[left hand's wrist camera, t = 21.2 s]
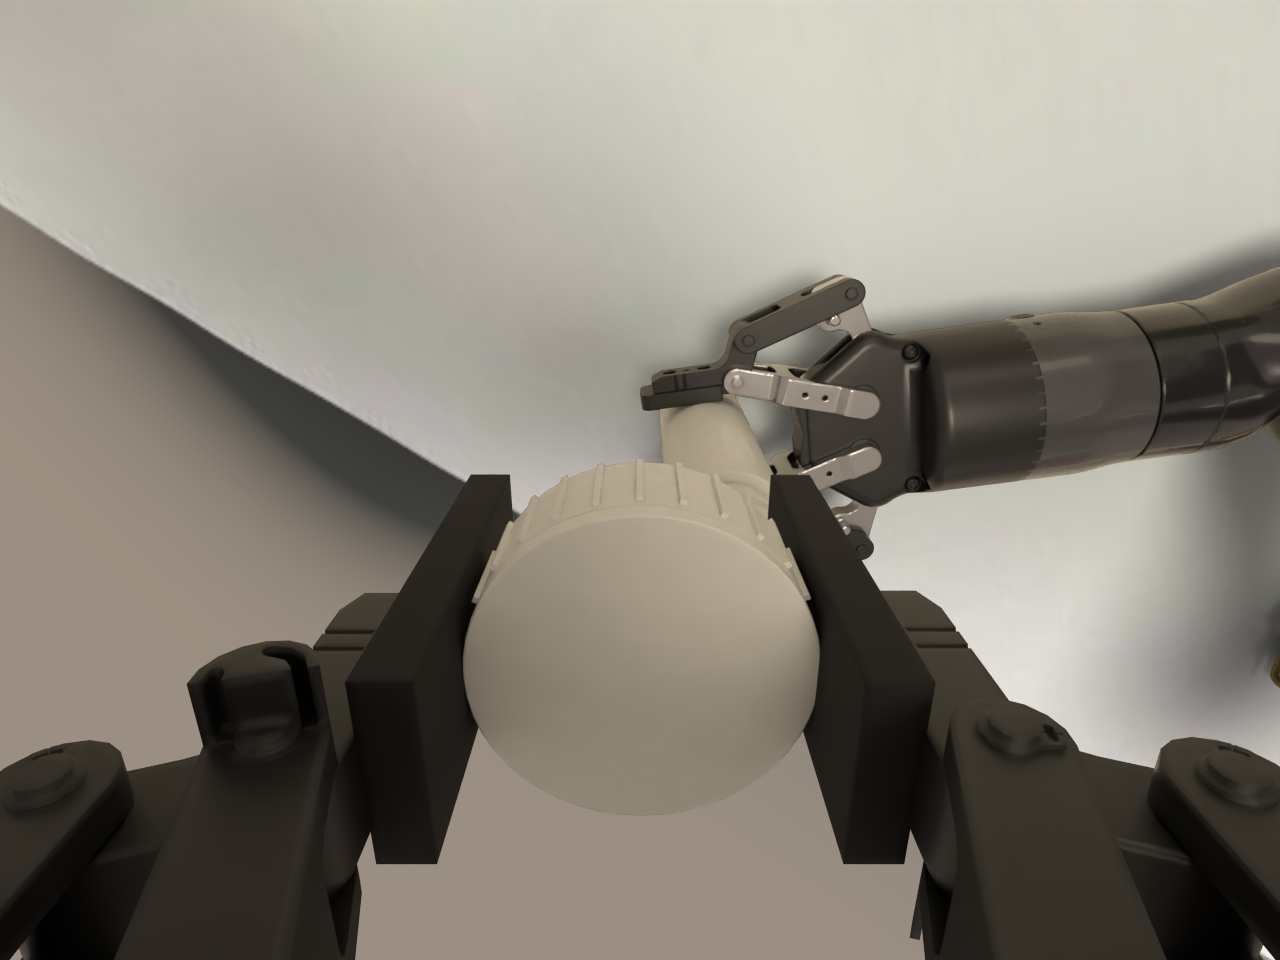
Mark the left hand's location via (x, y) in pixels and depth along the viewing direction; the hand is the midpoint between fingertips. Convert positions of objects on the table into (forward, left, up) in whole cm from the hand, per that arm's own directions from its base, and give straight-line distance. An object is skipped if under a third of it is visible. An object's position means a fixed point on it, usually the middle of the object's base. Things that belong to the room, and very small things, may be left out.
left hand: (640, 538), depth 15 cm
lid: (0, 0, +4) cm, 4 cm away
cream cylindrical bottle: (+5, -2, -27) cm, 27 cm away
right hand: (+3, -4, -20) cm, 21 cm away
